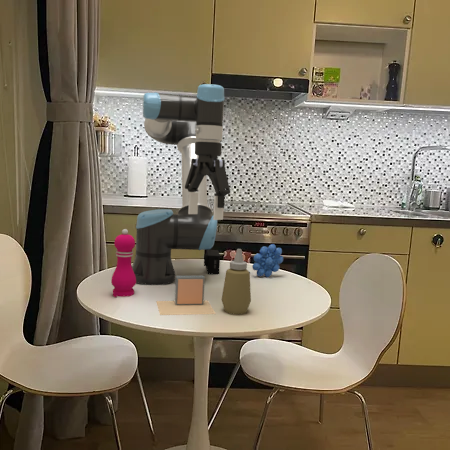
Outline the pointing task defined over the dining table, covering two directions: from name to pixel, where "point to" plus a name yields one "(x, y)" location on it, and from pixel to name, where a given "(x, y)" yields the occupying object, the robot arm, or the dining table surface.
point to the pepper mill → (124, 266)
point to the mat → (183, 308)
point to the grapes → (267, 260)
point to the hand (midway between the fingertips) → (205, 216)
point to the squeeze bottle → (237, 286)
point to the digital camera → (212, 261)
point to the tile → (189, 290)
